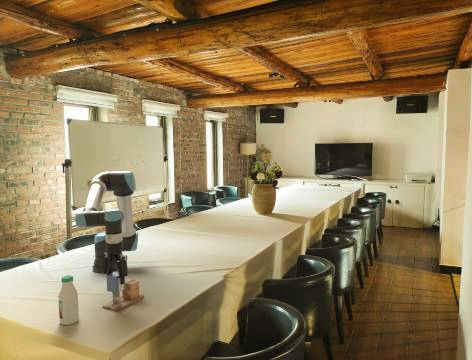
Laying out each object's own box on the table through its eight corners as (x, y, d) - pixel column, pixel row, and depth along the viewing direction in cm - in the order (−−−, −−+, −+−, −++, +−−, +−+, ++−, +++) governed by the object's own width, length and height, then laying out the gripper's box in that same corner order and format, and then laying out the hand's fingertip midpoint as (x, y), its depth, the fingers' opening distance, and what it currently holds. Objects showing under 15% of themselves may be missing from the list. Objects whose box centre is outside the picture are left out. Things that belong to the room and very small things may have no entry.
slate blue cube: (107, 291, 168) (106, 275, 168) (116, 286, 173) (115, 271, 173) (116, 293, 166) (115, 277, 165) (125, 288, 171) (124, 273, 170)
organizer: (102, 307, 169) (101, 289, 168) (129, 294, 185) (128, 277, 184) (118, 311, 164) (117, 292, 164) (144, 297, 181) (143, 279, 180)
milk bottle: (81, 316, 160) (79, 273, 158) (74, 325, 152) (72, 279, 150) (64, 317, 159) (62, 274, 158) (56, 325, 152) (54, 280, 150)
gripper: (93, 241, 168) (95, 289, 170) (123, 245, 160) (125, 295, 162) (105, 238, 175) (107, 284, 177) (135, 242, 167) (136, 289, 169)
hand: (115, 289), depth 169 cm, fingers closed on slate blue cube, 6 cm apart
